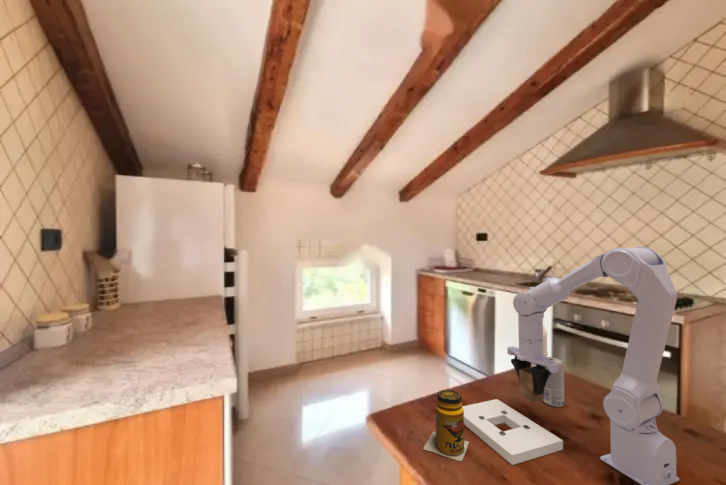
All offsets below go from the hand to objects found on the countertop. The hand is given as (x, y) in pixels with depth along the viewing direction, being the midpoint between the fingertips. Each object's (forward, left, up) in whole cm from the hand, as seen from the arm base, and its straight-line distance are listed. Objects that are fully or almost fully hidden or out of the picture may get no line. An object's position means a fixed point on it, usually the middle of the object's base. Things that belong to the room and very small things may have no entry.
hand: (531, 390), depth 85 cm
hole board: (-3, +12, -7) cm, 14 cm away
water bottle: (+12, -14, -7) cm, 20 cm away
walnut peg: (0, 0, -2) cm, 2 cm away
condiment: (-3, +28, -7) cm, 29 cm away
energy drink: (+3, -11, -7) cm, 13 cm away
